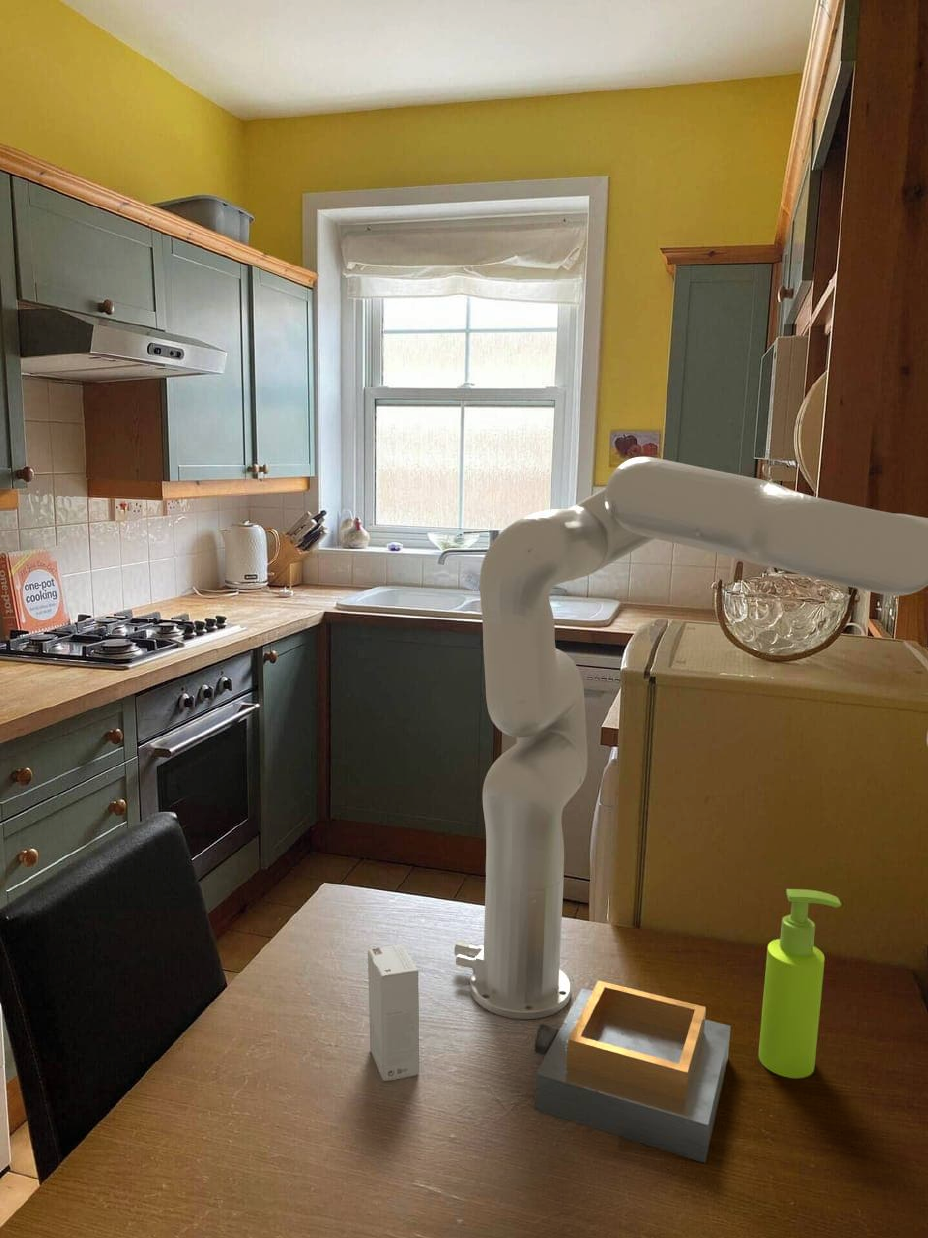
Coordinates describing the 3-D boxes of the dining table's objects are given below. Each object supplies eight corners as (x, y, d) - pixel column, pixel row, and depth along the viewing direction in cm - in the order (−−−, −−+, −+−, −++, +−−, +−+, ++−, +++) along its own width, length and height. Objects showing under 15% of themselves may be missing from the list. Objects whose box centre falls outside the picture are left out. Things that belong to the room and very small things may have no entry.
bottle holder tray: (511, 1102, 91) (514, 1040, 90) (560, 1014, 107) (563, 960, 106) (705, 1163, 84) (710, 1096, 83) (727, 1058, 99) (732, 1001, 98)
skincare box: (420, 1075, 95) (423, 970, 93) (380, 1084, 94) (381, 977, 92) (404, 1041, 101) (406, 941, 99) (366, 1049, 99) (367, 948, 98)
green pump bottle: (829, 1084, 96) (846, 909, 93) (761, 1074, 97) (776, 901, 94) (818, 1050, 101) (834, 884, 98) (755, 1041, 103) (769, 877, 100)
